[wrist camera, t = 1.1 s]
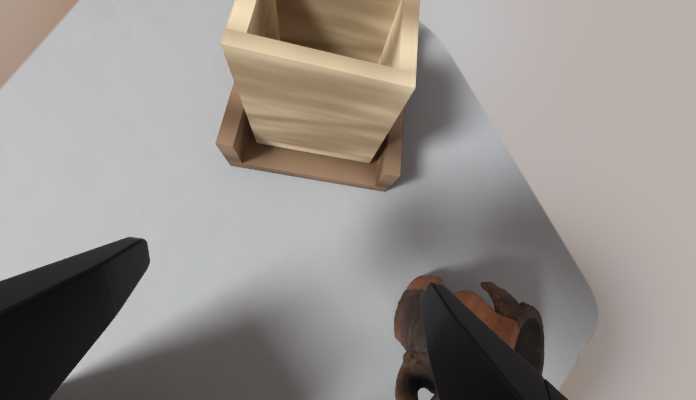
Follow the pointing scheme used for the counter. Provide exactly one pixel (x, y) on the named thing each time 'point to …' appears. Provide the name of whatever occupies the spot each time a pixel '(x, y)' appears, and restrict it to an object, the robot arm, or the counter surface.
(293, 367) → the counter surface
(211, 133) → the counter surface
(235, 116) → the bay
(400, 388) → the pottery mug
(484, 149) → the counter surface
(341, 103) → the crate
